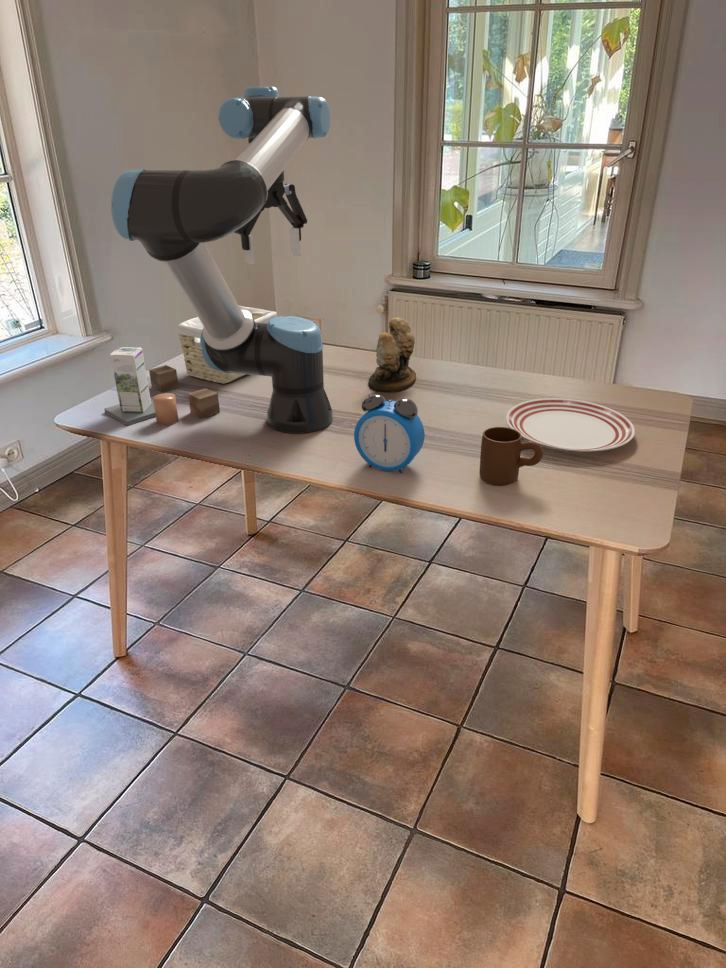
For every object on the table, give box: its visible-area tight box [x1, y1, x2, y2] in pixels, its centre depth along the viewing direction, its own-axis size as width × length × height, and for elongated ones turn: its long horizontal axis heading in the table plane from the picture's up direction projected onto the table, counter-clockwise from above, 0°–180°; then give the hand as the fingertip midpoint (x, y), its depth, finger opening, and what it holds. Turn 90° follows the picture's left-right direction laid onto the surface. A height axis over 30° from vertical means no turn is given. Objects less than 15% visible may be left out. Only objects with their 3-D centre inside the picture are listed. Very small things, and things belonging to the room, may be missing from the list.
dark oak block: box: [148, 364, 180, 393], centre depth 188 cm, size 5×5×5 cm
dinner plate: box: [505, 397, 636, 453], centre depth 160 cm, size 28×27×3 cm
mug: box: [479, 426, 544, 487], centre depth 139 cm, size 12×8×9 cm, turn 60°
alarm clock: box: [353, 393, 426, 474], centre depth 144 cm, size 13×6×15 cm, turn 67°
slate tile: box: [104, 399, 156, 426], centre depth 174 cm, size 11×11×1 cm
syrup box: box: [109, 346, 152, 412], centre depth 171 cm, size 6×6×14 cm
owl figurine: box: [368, 316, 417, 393], centre depth 187 cm, size 18×12×17 cm, turn 162°
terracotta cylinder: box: [152, 392, 180, 427], centre depth 168 cm, size 5×5×6 cm
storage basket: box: [177, 305, 278, 385], centre depth 197 cm, size 24×16×15 cm
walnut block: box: [187, 387, 221, 419], centre depth 173 cm, size 5×5×5 cm
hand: (273, 259), depth 175 cm, fingers open, 13 cm apart
